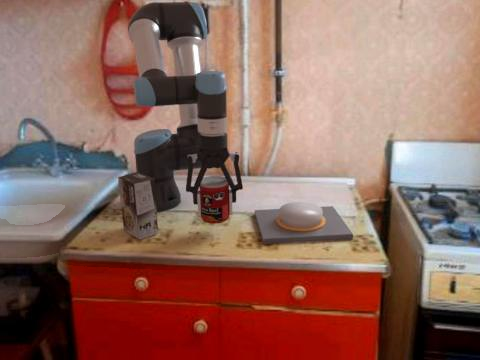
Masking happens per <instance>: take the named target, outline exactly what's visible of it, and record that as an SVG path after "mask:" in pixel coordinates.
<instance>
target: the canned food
mask: <svg viewBox="0 0 480 360" xmlns="http://www.w3.org/2000/svg"><path fill="white" fill-rule="evenodd" d="M229 189H230V186H229V184H228V182H227V180H226V178H225V176H221V175H212V176H211V175H209V176H204V177H203V179H202V182H201V183H200V187H199V191H200V204H201V217H200V218H201V220H202V221H203V222H204V223H206V224H211V225H212V224H213V225H214V224H221V223H224V222H226V221H228V220H229V218H230V214H229Z"/></svg>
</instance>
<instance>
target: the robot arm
mask: <svg viewBox="0 0 480 360" xmlns="http://www.w3.org/2000/svg"><path fill="white" fill-rule="evenodd" d="M207 24H208V23H207V19H206V14H205V11H204V9H203V7H202V5H201V4H200V3H199V2H194V1H187V0H186V1H178V2H177V1H176V2H175V1H172V2H170V1H168V2H167V1H166V2H161V1H159V2H158V1H153V2H149V3H146V4H143V5H142V6H140V7H139V8H138V9H137V10H135V12H133V14H132V15H131V17H130V19H129V22H128V25H127V34H128V39H129V40H130V42H131V43H132V44H133V48H134V55H135V58H136V59H135V60H136V66H137V71H138V76H139V77H137V78H134V80H133V91H134V99H135V104H136V106H138V107H140V108H141V107H149V108H153V107H163V106H177V105H178V111H179V120H180V124H179V125H178V126H177V127H176V133H172V131H171V130H170V129H167V128H163V129H161V128H158V129H157V128H156V129H151V130H148V131H145V132H144V131H143V132H141V133H140V134H138V135H137V136H136V137H135V138H134V140H133V144H134V145H133V146H134V147H133V148H134V150H133V153H134V159H135V170H136V172H139V173H141V174H144V175H146V176H149V177H151V178H154V184H155V197H156V210H157V212H158V211H159V212H160V211H166V210H170V209H174V208H176V207H178V206H179V205H180V204H181V202H182V199H181V198H182V197H181V193H180V190H179V188H178V185H177V182H176V180H175V174H174V172H175V171H184V170H185V171H186V170H187V176H186V185H185V192H186V193H191V194H192V201H193V202H192V203H193V205H197V217H198V218H199V217H200V218H201V204H200V183H201V182H202V179H203V178H205V174H206V172H207V170H208V169H220V170H221V172H222V173H223V175H224V176H223V177H225V178H226V180H227V182H228V184H229V216H233V203H234V204H235V203H237V191H240V190H241V191H242V190H243V188H244V187H243V182H242V176H241V175H242V174H241V169H240V165H239V162H240V154H239V152H237V151H236V152H230V151H229V149H228V134H227V132H228V120H227V119H228V118H227V117H228V116H227V108H228V107H227V88H228V85H227V79H226V74H225V72H224V71H223V72H222V71H221V70H220V71H219V70H204V71H203V70H202V69H203V68H202V62H201V54H200V53H201V52H200V48H201V47H202V46H203V44H204V40H205V39H206V38H207V36H208V27H207ZM160 41H166V44H167V47H168V48H169V49H170V50H171V51H172V55H173V64H174V73H175V76H174V75H173V76H172V75H171V76H168V73H167V69H166V65H165V61H164V57H163V53H162V48H161V45H160ZM229 158H230V160H231V162H233V168H234V173H235V178H236V182H237V184H235V183H234V180H233V178H232V176H231V175H230V172H229V170H228V168H227V165H226V161H228V159H229ZM195 169H199V172H198V174H197V177H196V179H195V181H194V184H193V186H192V180H193V172H194V170H195Z"/></svg>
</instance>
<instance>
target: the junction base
mask: <svg viewBox="0 0 480 360" xmlns="http://www.w3.org/2000/svg"><path fill="white" fill-rule="evenodd" d="M253 211H254V212H253V213H254V214H253V215H254V218H255V221H256V225H257V228H258V231H259V234H260V238H261V242H262V244H263V245H269V244H270V245H271V244H289V243H306V242H310V243H311V242H320V241H321V242H322V241H323V242H324V241H327V242H328V241H341V240H342V241H343V240H345V241H346V240H353V239H354V233H353V232H352V231H351V229H350V227H348V225H347V224H346V222H345V220H343V218H342V216H340V214H339V213H338V211H337V210H336V208H335V207H334V206H333V205H331V206H329V205H328V206H319V205H318V204H315V203H312V202H305V201H295V202H288V203H285V204H283V205H281V206H279V208H270V209H254V210H253Z"/></svg>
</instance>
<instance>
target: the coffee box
mask: <svg viewBox="0 0 480 360" xmlns="http://www.w3.org/2000/svg"><path fill="white" fill-rule="evenodd" d="M117 181H118V189H119V199H120V207H121V215H122V225H123V231H125V232H126V233H128V234H129V235H131V236H133V237H135V238H136V239H138V240H143V239H145V238H148V237H152V236H154V235H155V236H156V235H157V234H159V225H158V224H159V223H158V214H157V212H158V211H157V210H156V197H155V184H154V178H151V177H149V176H146V175H144V174H141V173H139V172H131V173H128V174H125V175H121V176H118V177H117Z"/></svg>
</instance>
